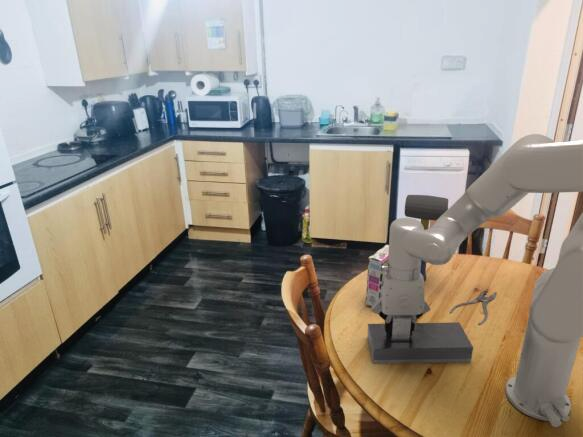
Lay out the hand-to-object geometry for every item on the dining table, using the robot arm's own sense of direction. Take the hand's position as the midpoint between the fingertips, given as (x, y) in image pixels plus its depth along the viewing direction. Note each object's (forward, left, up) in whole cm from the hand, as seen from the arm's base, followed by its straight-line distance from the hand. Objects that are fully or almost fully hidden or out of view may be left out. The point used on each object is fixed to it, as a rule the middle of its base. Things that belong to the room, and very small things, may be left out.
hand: (399, 332), depth 110 cm
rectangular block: (0, -5, -6) cm, 7 cm away
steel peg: (0, 0, -3) cm, 3 cm away
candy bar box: (+23, 0, -6) cm, 24 cm away
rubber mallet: (+33, -14, -6) cm, 36 cm away
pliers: (+20, -27, -6) cm, 34 cm away
